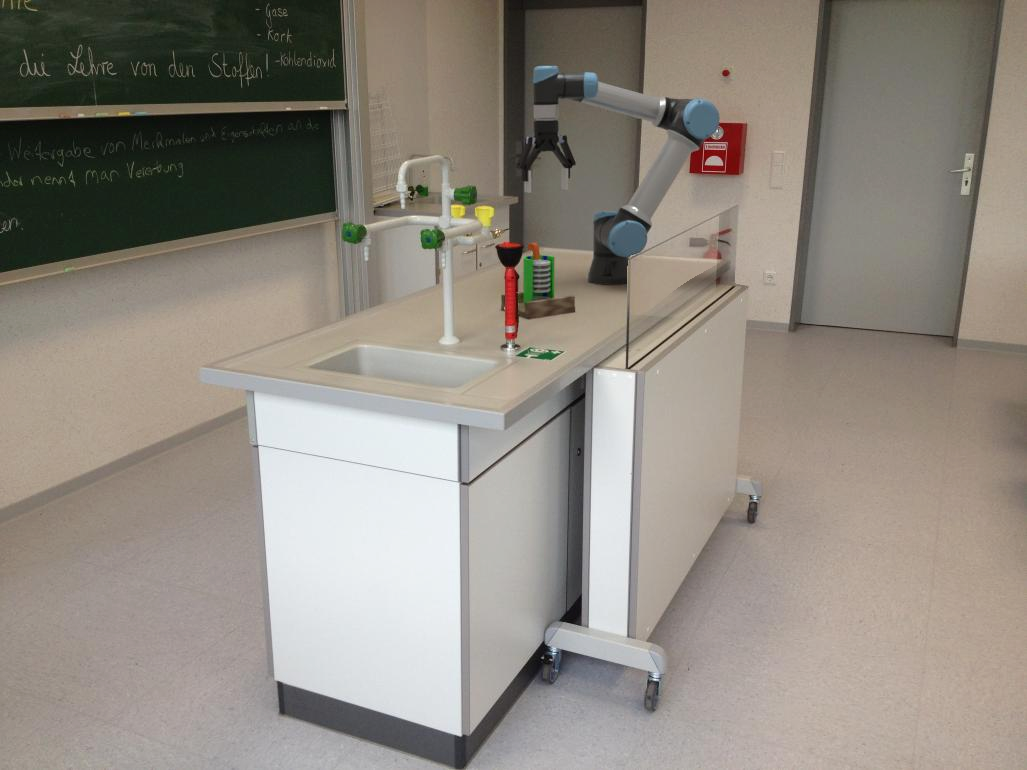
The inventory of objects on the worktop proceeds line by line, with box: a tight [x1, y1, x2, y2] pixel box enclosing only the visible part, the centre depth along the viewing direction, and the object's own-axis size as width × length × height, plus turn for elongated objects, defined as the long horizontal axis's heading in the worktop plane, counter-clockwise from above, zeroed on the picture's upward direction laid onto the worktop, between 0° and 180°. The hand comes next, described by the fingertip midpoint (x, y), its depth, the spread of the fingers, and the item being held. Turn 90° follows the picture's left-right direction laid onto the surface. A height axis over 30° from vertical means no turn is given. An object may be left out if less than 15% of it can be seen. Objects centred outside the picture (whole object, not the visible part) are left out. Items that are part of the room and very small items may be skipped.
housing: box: [500, 291, 576, 320], centre depth 282 cm, size 16×15×4 cm
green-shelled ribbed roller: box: [522, 242, 555, 307], centre depth 280 cm, size 9×8×18 cm
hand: (546, 191), depth 299 cm, fingers open, 13 cm apart
